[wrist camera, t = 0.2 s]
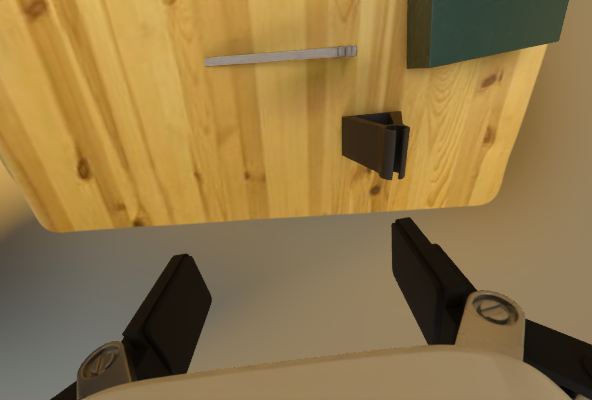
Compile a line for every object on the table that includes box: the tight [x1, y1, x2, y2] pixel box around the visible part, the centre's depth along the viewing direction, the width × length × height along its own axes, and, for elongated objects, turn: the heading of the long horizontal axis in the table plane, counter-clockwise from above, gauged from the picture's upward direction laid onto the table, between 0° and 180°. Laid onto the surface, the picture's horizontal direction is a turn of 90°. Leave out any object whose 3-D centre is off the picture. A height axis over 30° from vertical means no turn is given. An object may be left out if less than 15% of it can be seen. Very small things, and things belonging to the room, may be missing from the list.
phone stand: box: [342, 111, 410, 180], centre depth 34 cm, size 9×6×12 cm, turn 95°
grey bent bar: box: [204, 45, 357, 66], centre depth 32 cm, size 20×1×6 cm, turn 93°
